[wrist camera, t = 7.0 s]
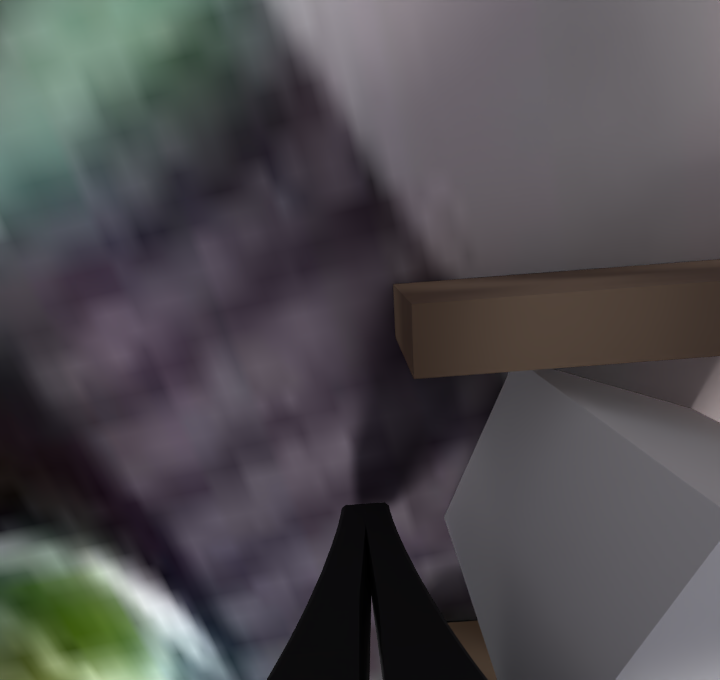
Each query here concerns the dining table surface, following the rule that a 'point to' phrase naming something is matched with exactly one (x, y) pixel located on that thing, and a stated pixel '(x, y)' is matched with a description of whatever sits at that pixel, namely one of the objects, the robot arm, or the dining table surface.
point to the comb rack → (556, 331)
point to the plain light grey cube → (592, 533)
